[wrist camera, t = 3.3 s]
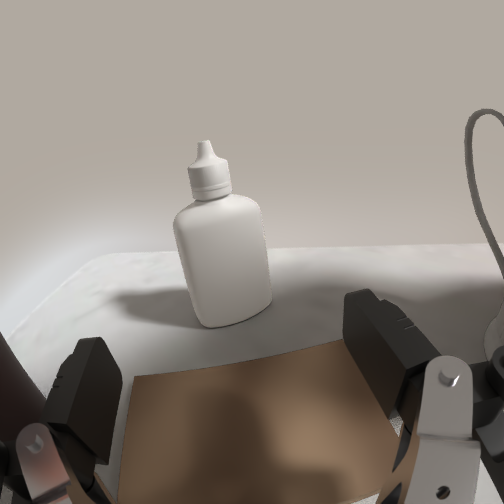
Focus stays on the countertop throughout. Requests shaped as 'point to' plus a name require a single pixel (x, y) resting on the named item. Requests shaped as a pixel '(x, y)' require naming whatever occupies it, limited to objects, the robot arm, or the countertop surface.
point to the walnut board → (257, 433)
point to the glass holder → (500, 328)
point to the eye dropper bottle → (221, 246)
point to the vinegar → (16, 396)
